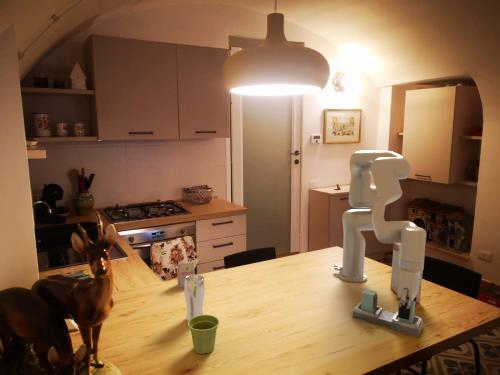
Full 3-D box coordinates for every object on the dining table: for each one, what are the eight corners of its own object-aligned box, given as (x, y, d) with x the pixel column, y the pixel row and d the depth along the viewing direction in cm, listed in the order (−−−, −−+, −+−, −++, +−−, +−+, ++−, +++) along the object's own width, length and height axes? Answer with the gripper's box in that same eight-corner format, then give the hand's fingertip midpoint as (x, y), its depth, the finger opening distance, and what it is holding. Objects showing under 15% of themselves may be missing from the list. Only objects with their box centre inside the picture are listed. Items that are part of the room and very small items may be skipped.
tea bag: (177, 284, 161) (177, 262, 159) (193, 282, 163) (192, 260, 161) (178, 288, 157) (178, 265, 156) (194, 285, 159) (194, 263, 158)
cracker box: (421, 303, 145) (425, 251, 142) (406, 303, 145) (410, 251, 142) (403, 288, 159) (406, 240, 156) (389, 288, 158) (393, 241, 155)
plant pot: (182, 353, 111) (181, 326, 110) (198, 337, 119) (198, 312, 118) (209, 361, 107) (209, 333, 106) (224, 344, 116) (224, 318, 114)
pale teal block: (400, 316, 129) (401, 297, 128) (414, 320, 126) (415, 301, 125) (397, 321, 126) (398, 301, 125) (411, 325, 123) (412, 305, 122)
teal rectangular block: (360, 311, 133) (362, 292, 132) (364, 307, 136) (365, 288, 135) (373, 314, 130) (374, 295, 129) (377, 310, 133) (378, 291, 132)
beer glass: (199, 325, 127) (198, 283, 125) (181, 321, 129) (180, 280, 127) (208, 315, 134) (207, 275, 131) (191, 312, 136) (190, 273, 134)
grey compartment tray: (352, 317, 133) (352, 308, 133) (358, 309, 139) (359, 301, 139) (418, 337, 121) (419, 327, 120) (422, 327, 127) (423, 318, 126)
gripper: (405, 254, 132) (401, 300, 135) (392, 269, 118) (389, 319, 120) (428, 259, 128) (424, 306, 130) (417, 274, 114) (413, 326, 116)
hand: (407, 312), depth 125 cm, fingers open, 9 cm apart
